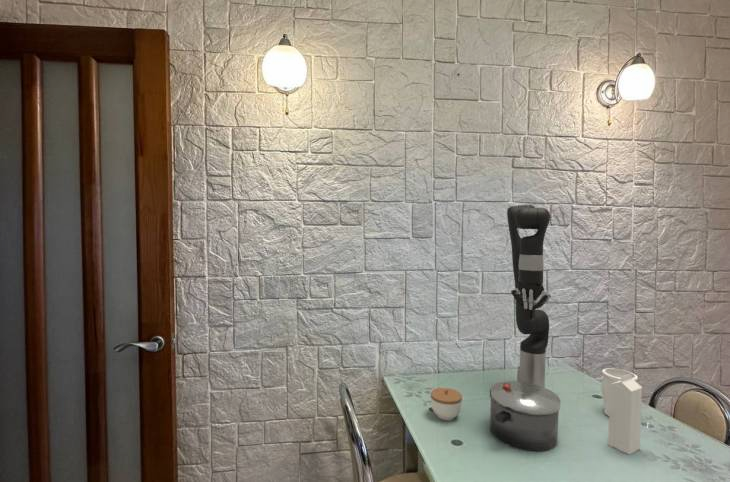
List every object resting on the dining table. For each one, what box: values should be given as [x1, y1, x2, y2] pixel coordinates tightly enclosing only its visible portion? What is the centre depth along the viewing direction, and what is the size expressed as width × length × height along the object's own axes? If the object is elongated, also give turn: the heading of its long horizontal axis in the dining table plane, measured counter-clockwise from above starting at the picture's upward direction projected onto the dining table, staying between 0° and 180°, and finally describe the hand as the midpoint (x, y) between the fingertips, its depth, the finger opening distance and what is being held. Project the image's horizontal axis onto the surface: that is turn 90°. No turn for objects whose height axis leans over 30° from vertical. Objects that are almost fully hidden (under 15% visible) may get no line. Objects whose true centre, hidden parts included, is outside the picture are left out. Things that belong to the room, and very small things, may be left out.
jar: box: [601, 367, 639, 417], centre depth 134 cm, size 11×10×15 cm
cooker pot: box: [489, 388, 560, 453], centre depth 123 cm, size 21×28×11 cm
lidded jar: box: [430, 387, 463, 421], centre depth 133 cm, size 11×11×9 cm
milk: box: [607, 374, 643, 455], centre depth 115 cm, size 6×6×22 cm
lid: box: [490, 380, 561, 415], centre depth 122 cm, size 20×20×3 cm
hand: (529, 320), depth 127 cm, fingers closed
